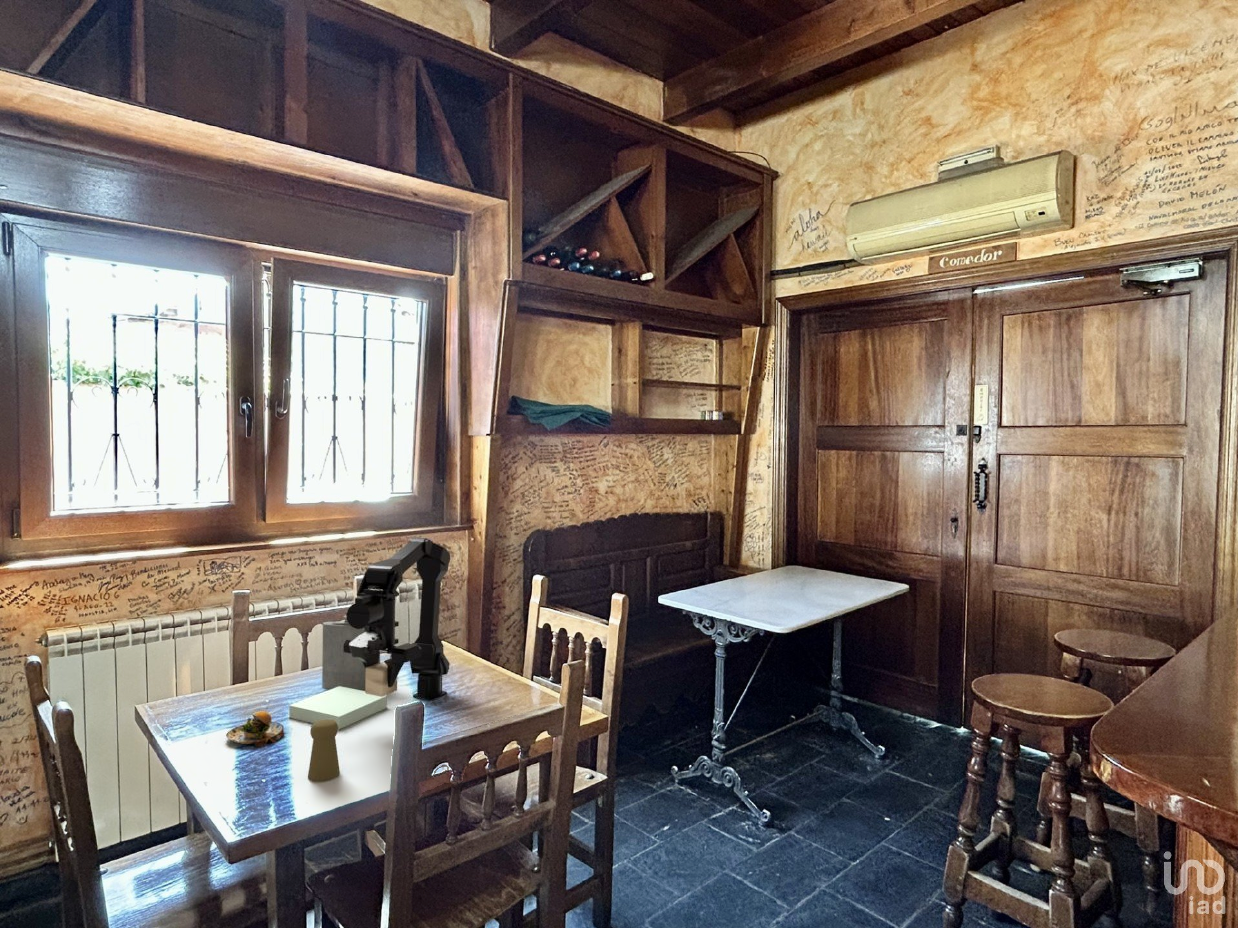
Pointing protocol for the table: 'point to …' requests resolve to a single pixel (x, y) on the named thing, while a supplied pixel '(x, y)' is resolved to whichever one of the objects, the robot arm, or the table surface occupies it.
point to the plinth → (338, 706)
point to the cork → (324, 751)
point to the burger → (257, 730)
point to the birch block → (378, 680)
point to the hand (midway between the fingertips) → (381, 685)
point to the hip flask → (341, 658)
